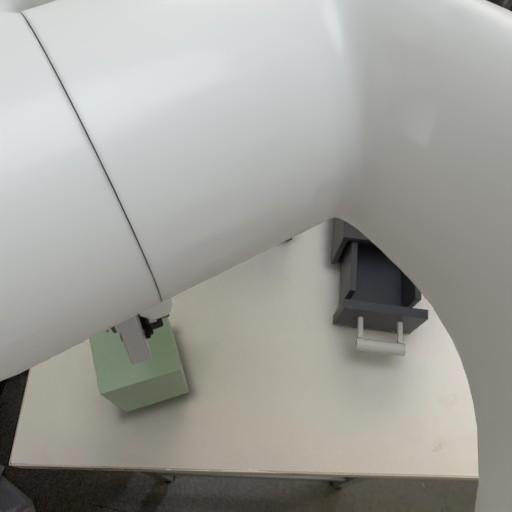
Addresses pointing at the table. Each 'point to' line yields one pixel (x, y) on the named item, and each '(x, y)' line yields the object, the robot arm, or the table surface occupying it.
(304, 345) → the table surface
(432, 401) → the table surface
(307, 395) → the table surface
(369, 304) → the drawer
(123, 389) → the block
